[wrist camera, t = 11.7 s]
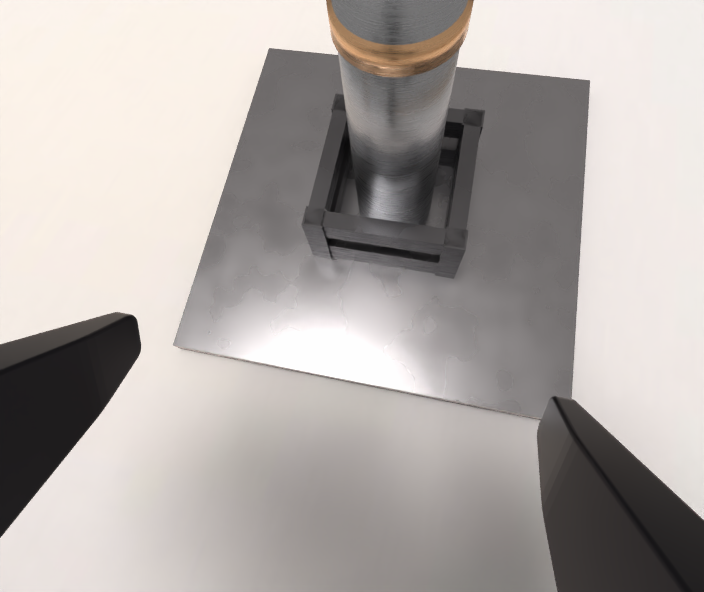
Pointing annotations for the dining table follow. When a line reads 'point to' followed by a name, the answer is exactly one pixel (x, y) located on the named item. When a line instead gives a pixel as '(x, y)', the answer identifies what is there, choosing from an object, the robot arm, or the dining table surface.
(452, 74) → the grey metal cylinder
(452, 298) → the collar stand
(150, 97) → the dining table surface
